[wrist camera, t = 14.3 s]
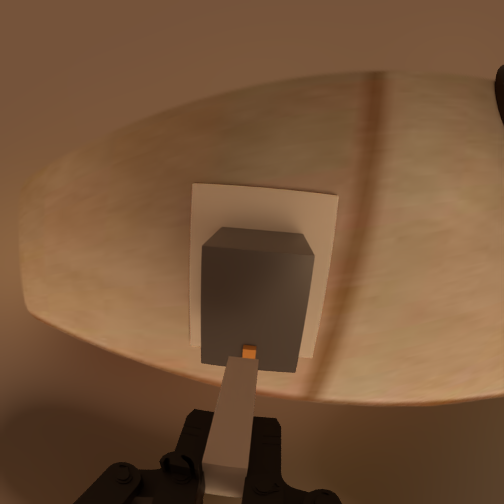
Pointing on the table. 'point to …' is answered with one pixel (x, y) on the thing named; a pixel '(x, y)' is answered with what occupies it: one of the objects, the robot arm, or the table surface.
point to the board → (270, 219)
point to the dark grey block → (254, 297)
